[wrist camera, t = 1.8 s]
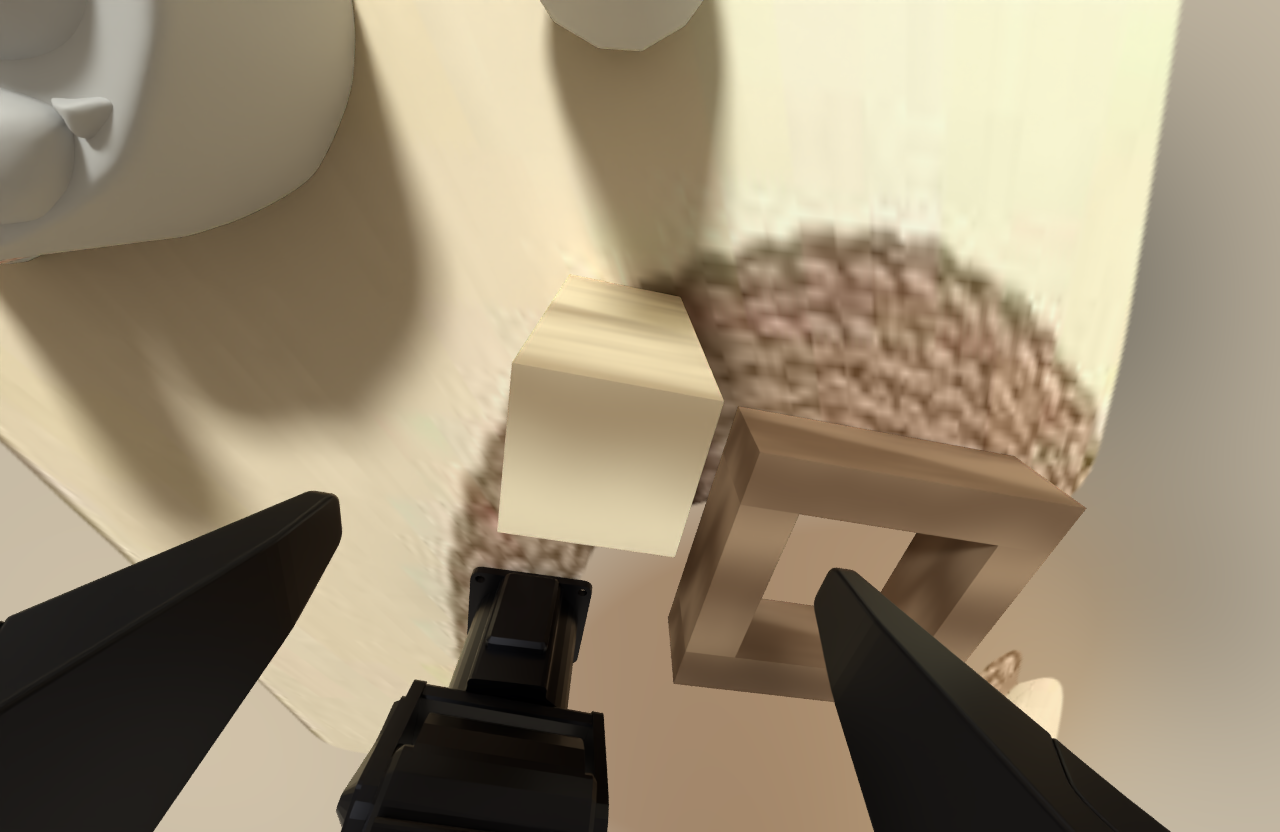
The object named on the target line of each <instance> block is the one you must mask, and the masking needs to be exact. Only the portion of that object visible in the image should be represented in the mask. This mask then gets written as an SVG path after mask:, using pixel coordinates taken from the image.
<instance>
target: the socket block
mask: <svg viewBox="0 0 1280 832" xmlns="http://www.w3.org/2000/svg"><path fill="white" fill-rule="evenodd" d="M1085 509H1086V508H1085V507H1084V506H1082V505H1081V504H1080V503H1078V502H1077V501H1076V500H1074V499H1073V498H1071V497H1070V496H1069V495H1067V494H1066V493H1065V492H1063V491H1062V490H1060V489H1059V488H1058V487H1056V486H1055V485H1053V484H1052V483H1051V482H1049V481H1048V480H1047V479H1045V478H1044V477H1042V476H1041V475H1040V474H1038V473H1037V472H1035V471H1034V470H1033V469H1031V468H1030V467H1028V466H1027V465H1026V464H1024V463H1023V462H1022V461H1020V460H1019V459H1017V458H1016V457H1015V456H1009V455H1004V454H998V453H993V452H987V451H982V450H976V449H971V448H965V447H960V446H954V445H949V444H943V443H938V442H932V441H927V440H921V439H916V438H910V437H905V436H899V435H894V434H888V433H883V432H877V431H872V430H866V429H861V428H855V427H850V426H844V425H839V424H833V423H828V422H822V421H817V420H811V419H806V418H800V417H795V416H789V415H784V414H778V413H773V412H767V411H762V410H756V409H751V408H745V407H740V406H738V409H737V412H736V415H735V418H734V421H733V424H732V427H731V430H730V433H729V436H728V439H727V442H726V445H725V448H724V451H723V454H722V457H721V460H720V463H719V466H718V469H717V472H716V475H715V478H714V481H713V484H712V487H711V490H710V493H709V496H708V499H707V502H706V505H705V508H704V511H703V514H702V517H701V520H700V523H699V526H698V529H697V532H696V535H695V538H694V541H693V544H692V547H691V550H690V553H689V556H688V559H687V563H686V565H685V568H684V571H683V575H682V578H681V580H680V583H679V586H678V589H677V592H676V596H675V598H674V602H673V604H672V608H671V610H670V613H669V616H668V623H669V635H670V646H671V658H672V670H673V682H674V684H681V685H690V686H699V687H707V688H716V689H725V690H734V691H743V692H751V693H761V694H769V695H777V696H786V697H795V698H804V699H813V700H821V701H830V702H834V699H833V695H832V692H831V688H830V684H829V679H828V675H827V670H826V665H825V660H824V655H823V650H822V646H821V641H820V636H819V631H818V626H817V621H816V616H815V611H814V606H811V605H804V604H797V603H789V602H782V601H775V600H767V599H761V598H762V596H763V594H764V592H765V590H766V587H767V585H768V582H769V581H770V578H771V576H772V574H773V572H774V569H775V567H776V565H777V563H778V561H779V558H780V556H781V554H782V552H783V549H784V547H785V545H786V543H787V540H788V538H789V536H790V534H791V531H792V529H793V527H794V525H795V523H796V520H797V518H798V516H799V514H802V515H809V516H815V517H821V518H827V519H834V520H840V521H847V522H853V523H859V524H866V525H871V526H878V527H884V528H891V529H897V530H903V531H909V532H916V535H915V537H914V538H913V540H912V542H911V543H910V545H909V546H908V548H907V550H906V551H905V553H904V555H903V557H902V558H901V560H900V561H899V563H898V565H897V567H896V568H895V569H894V571H893V573H892V575H891V576H890V578H889V579H888V581H887V583H886V584H885V586H884V588H883V589H882V591H881V593H882V594H883V595H884V596H885V597H886V598H888V599H889V600H890V601H891V602H892V603H894V604H895V605H896V606H897V607H898V608H900V609H901V610H902V611H903V612H904V613H906V614H907V615H908V616H909V617H910V618H912V619H913V620H914V621H915V622H916V623H918V624H919V625H920V626H921V627H922V628H924V629H925V630H926V631H927V632H928V633H930V634H931V635H932V636H933V637H934V638H936V639H937V640H938V641H939V642H940V643H942V644H943V645H944V646H945V647H946V648H948V649H949V650H950V651H951V652H952V653H954V654H955V655H956V656H957V657H958V658H960V659H961V660H962V661H963V662H964V663H965V661H966V660H967V659H968V658H969V656H970V655H971V654H972V653H973V651H974V650H975V649H976V647H977V646H978V645H979V644H980V642H981V641H982V640H983V639H984V637H985V636H986V635H987V633H988V632H989V631H990V630H991V628H992V627H993V626H994V625H995V623H996V622H997V621H998V620H999V618H1000V617H1001V616H1002V614H1003V613H1004V612H1005V611H1006V609H1007V608H1008V607H1009V605H1010V604H1011V603H1012V602H1013V601H1014V599H1015V598H1016V597H1017V595H1018V594H1019V593H1020V592H1021V590H1022V589H1023V588H1024V587H1025V585H1026V584H1027V583H1028V582H1029V580H1030V579H1031V577H1033V575H1034V574H1035V573H1036V571H1037V570H1038V569H1039V568H1040V566H1041V565H1042V564H1043V563H1044V561H1045V560H1046V559H1047V557H1048V556H1049V555H1050V554H1051V552H1052V551H1053V550H1054V548H1055V547H1056V546H1057V545H1058V543H1059V542H1060V541H1061V540H1062V538H1063V537H1064V536H1065V535H1066V533H1067V532H1068V531H1069V529H1070V528H1071V527H1072V526H1073V525H1074V523H1075V522H1076V521H1077V519H1078V518H1079V517H1080V516H1081V514H1082V513H1083V512H1084V511H1085Z"/></svg>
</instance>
